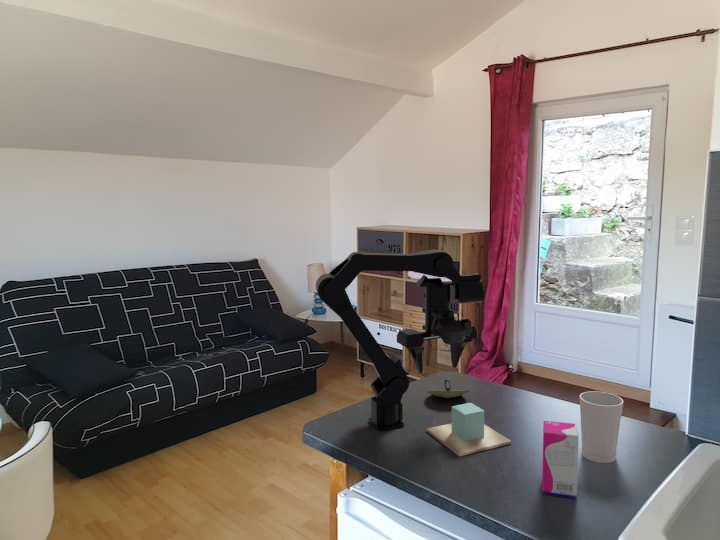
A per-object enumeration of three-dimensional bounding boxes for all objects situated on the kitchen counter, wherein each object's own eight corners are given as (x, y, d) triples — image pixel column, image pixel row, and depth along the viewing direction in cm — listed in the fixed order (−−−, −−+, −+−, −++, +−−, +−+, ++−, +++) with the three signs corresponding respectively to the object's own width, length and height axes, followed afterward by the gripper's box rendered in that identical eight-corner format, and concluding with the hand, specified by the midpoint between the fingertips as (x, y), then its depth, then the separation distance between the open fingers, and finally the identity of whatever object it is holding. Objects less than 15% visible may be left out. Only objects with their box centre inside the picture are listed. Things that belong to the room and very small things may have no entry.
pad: (459, 456, 108) (459, 453, 108) (426, 431, 120) (426, 428, 120) (511, 443, 113) (511, 441, 113) (475, 420, 125) (475, 418, 125)
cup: (602, 469, 102) (604, 409, 101) (568, 451, 109) (570, 395, 108) (629, 459, 106) (632, 401, 104) (595, 443, 113) (597, 388, 111)
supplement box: (575, 482, 98) (577, 422, 96) (577, 499, 92) (579, 437, 91) (541, 477, 100) (543, 419, 98) (541, 494, 94) (543, 432, 92)
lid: (431, 407, 134) (431, 388, 133) (424, 393, 143) (424, 375, 143) (473, 406, 134) (473, 386, 133) (463, 391, 144) (463, 373, 143)
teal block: (464, 441, 113) (464, 414, 112) (451, 432, 118) (451, 406, 117) (484, 437, 115) (484, 410, 114) (470, 428, 120) (470, 402, 119)
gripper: (419, 315, 112) (419, 387, 114) (492, 307, 119) (491, 374, 121) (395, 306, 122) (395, 372, 124) (464, 298, 129) (463, 361, 131)
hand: (437, 370), depth 125 cm, fingers open, 9 cm apart
